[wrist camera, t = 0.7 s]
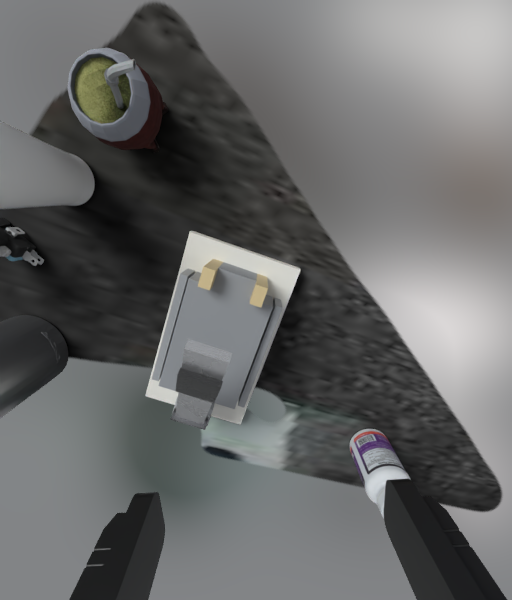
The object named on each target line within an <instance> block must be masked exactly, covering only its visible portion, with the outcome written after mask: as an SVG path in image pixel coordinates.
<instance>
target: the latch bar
mask: <svg viewBox="0 0 512 600" xmlns="http://www.w3.org/2000/svg"><path fill="white" fill-rule="evenodd" d="M231 356H232V353H231V352H228V351H225V350H222V349H219V348H216V347H213V346H209V345H206V344H203V343H200V342H197V341H194V340H191V339H188V341H187V343H186V345H185V348H184V354H183V361H182V368H180V370H179V372H178V374H177V383H176V392H178V399H177V407H175V408H174V411H173V413H172V417H171V420H174V421H177V422H180V423H184V424H187V425H190V426H194V427H197V428H200V429H204V430H205V428H206V425H207V422H208V418H209V417H207V414H208V412H209V409H210V407H211V405H212V403H215V400H216V398H217V396H218V394H219V391H220V389H221V386H222V383H223V381H222V379H223V377H224V374H225V372H226V370H227V367H228V365H229V363H230V359H231Z"/></svg>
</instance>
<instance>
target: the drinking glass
mask: <svg viewBox="0 0 512 600" xmlns="http://www.w3.org/2000/svg"><path fill="white" fill-rule="evenodd" d="M94 188H95V181H94V176H93V173H92V171H91V169H90V168H89V166H88V165H87V164H86V163H85V162H84V161H83V160H82V159H81V158H79V157H77V156H76V155H73V154H71V153H68V152H65V151H62V150H60V149H58V148H56V147H54V146H52V145H50V144H47V143H45V142H43V141H41V140H39V139H37V138H35V137H33V136H31V135H29V134H27V133H24V132H23V131H21V130H18V129H16V128H14V127H12V126H10V125H8V124H6V123H4V122H2V121H0V209H14V208H29V207H44V206H78V205H82V204H84V203H86V202H87V201H88V200H89V199H90V198H91V196H92V195H93V192H94Z"/></svg>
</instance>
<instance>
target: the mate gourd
mask: <svg viewBox="0 0 512 600" xmlns="http://www.w3.org/2000/svg"><path fill="white" fill-rule="evenodd" d="M68 92H69V97H70V101H71V106H72V109H73V111H74V112H75V114H76V116H77V117H78V119H79V121H80V122H81V124H82V125H83V126H84V127H85V128H86V129H87V130H88V131H89V132H90V133H92V134H93V135H94V136H95V137H96V138H98V139H99V140H100V141H101V142H103V143H105V144H107V145H110V146H113V147H116V148H119V149H122V150H131V149H141V148H148V149H152V151H153V152H155V153H157V152H158V151H160V147H159V145H158V143H157V141H156V139H155V137H156V135H157V134H158V132H159V130H160V125H161V120H162V115H164V114H165V113H167V112H168V107H167V105H166V103H165V102H163V101H162V97H161V94H160V92H159V91H158V89H157V87H156V86H155V84H154V83H153V81H152V80H151V78H150V76H149V75H148V74H147V73H146V72H145V71H144V70H143V69H142V68H141V67H140V66H139V65H138V64H137V63H136V61H135V59H133V60H132V59H131V58H129V57H127V56H126V55H125V54H123V53H121V52H118V51H115V50H112V49H110V48H101V49H92V50H88V51H87V52H86V53H84V54H83V55H81V56H80V57H78V58H77V59H76V61H75V63H74V65H73V66H72V68H71V70H70V73H69V81H68Z"/></svg>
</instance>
